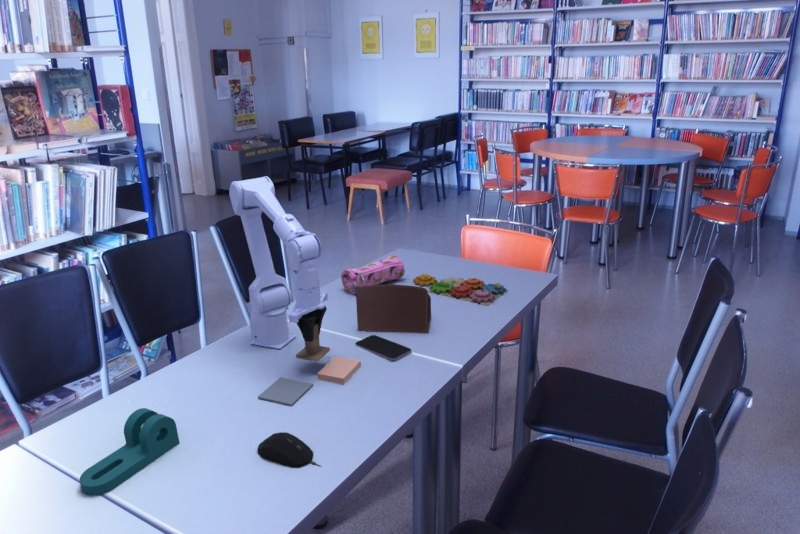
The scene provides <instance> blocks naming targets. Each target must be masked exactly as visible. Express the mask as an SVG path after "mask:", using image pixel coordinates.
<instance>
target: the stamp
mask: <svg viewBox="0 0 800 534" xmlns="http://www.w3.org/2000/svg"><path fill="white" fill-rule="evenodd" d="M304 345H305V346H304V347H303V348H302V349H301V350H299V352H297V353H296V354H295V358H296V359H301V360H306V361H312V362H316V363H319V361H320V360H321V359H323V357H325V356H326V355H327V354H328V353H329V352H330V351H331V348H330V347H328V346H322V345H320V334H319V331H318V324H316V323H314V338H313V341H312V342H309V341H304Z"/></svg>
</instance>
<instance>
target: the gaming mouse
mask: <svg viewBox="0 0 800 534" xmlns="http://www.w3.org/2000/svg"><path fill="white" fill-rule="evenodd" d="M257 453H258V455H259V456H260V457H261V458H263V459H264V460H266V461H269V462H272V463H276V464H279V465H282V466H284V467H288V468H293V469H297V468H298V469H299V468H302V467H305V466H306V465H307V466H308V464H309V465H312V466H316V467H319V468H322V467H323V466H322V465H319V464H318V463H316V462H315V461H312V460H313V457H314V451H313V450H312V449H311V448H310V446H309V445H307V443H305V442H304V441H303V440H301V439H300V438H299V437H297V436H295V435H293V434H292V433H289V432H287V431H286V432H284V431H283V432H282V431H281V432H275V433H272V434H271V435H270V436H268V437H267V438H265V439H264V440H262V441H261V442H260V443H259V444H258V446H257Z"/></svg>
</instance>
